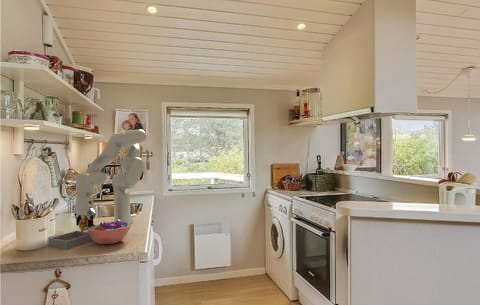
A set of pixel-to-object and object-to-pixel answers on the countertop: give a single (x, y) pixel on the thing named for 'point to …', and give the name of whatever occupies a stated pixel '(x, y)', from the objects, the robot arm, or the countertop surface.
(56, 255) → the countertop surface
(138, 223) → the countertop surface
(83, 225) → the bird rattle
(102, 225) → the cell model
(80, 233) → the grey picture frame
